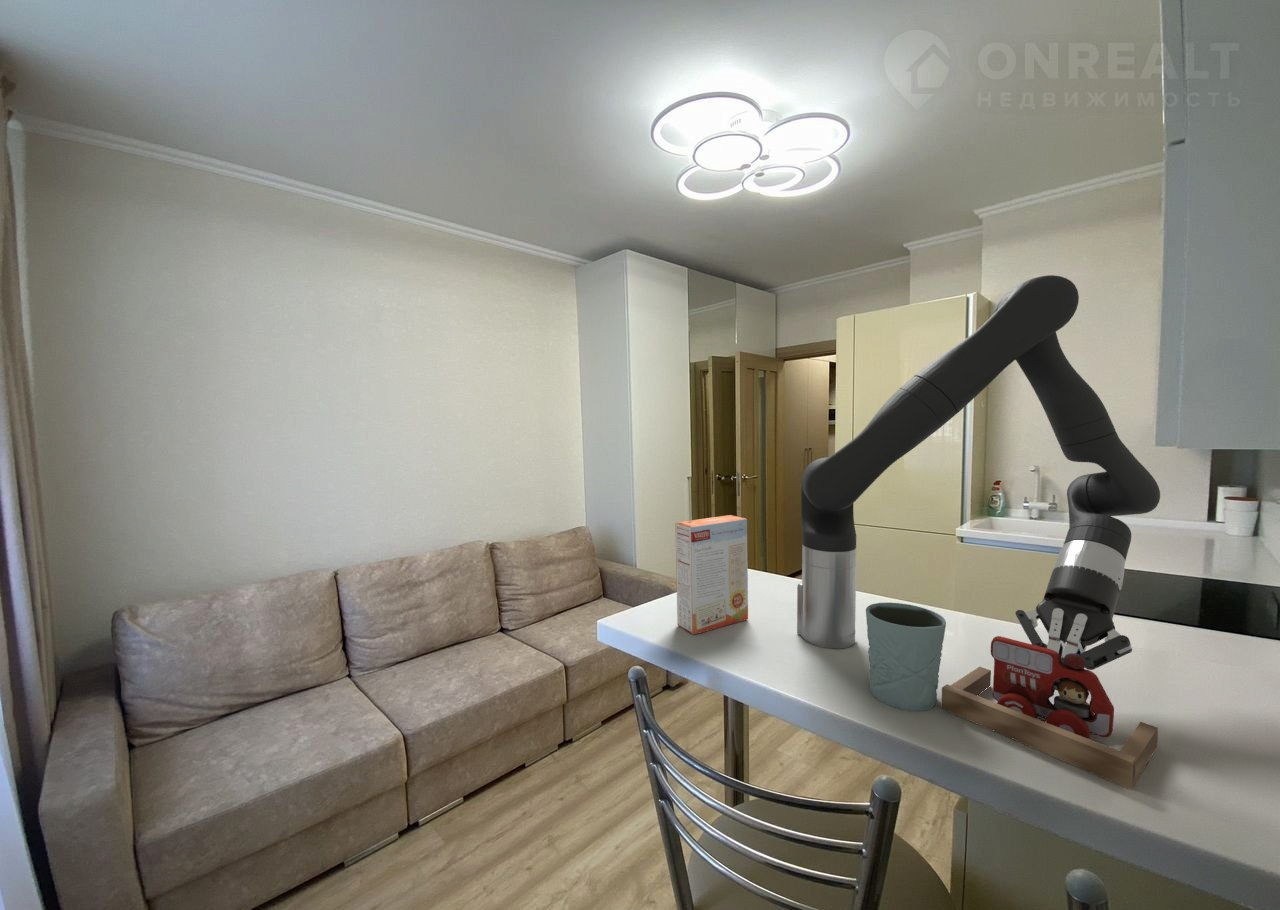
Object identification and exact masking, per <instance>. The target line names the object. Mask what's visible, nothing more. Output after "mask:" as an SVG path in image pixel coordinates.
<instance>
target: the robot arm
mask: <svg viewBox="0 0 1280 910" xmlns="http://www.w3.org/2000/svg"><path fill="white" fill-rule="evenodd" d="M1079 300H1080V296H1079V290H1078V288H1077V286H1076V285H1075V284H1074V282H1073V281H1072V280H1070V279H1068V278H1066V277H1064V276H1060V275H1051V274H1050V275H1047V274H1046V275H1042V276H1038V277H1034V278H1030V279H1027V280H1026V281H1024V282H1021V283H1020V284H1019V285H1017V286H1016V287H1014V288H1013V289H1011V291H1009V292H1007V293H1006V294H1005V295H1003V296H1002V297H1001V298H1000V299H999V300H998V301H997V302H996V304H995V306H994V307H993V310H992V314H991V316H990V317H989V318H988V319H987V320H986V321H985V322H984V323H982V325H981V326H979V328H978V329H976V330H975V331H974V332H973V333H972V334H970V335H969V336H968V337H966V338H964V340H962V341H960V342H959V343H958V344H956V345H955V346H953V347H952V348H950V349H949V350H947V351H945V352H944V353H943V354H941V355H940V356H938V357H937V358H935V359H934V360H933V361H932V362H930V363H929V364H927V365H926V366H925V367H923V368H922V369H921V370H920V371H918V372H917V373H915V375H913V376H912V377H911V378H909V380H908V381H907V382H905V383H904V384H903V385H902V386H901V387H899V388H898V389H897V390H896V391H895V392H894V393H893V394H892V395H891V396H890V397H889V398H888V399H887V400H886V402H885V403H884V404H883V405H882V406H881V407H880V408H879V410H878V411H877V412H876V413H875V415H874V416H873V417H872V418H871V420H869V423H868V424H867V425H866V426H865V427H864V428H863V430H862V431H860V433H858V435H856V436H855V437H854V438H853V439H852V440H850V441H849V442H847V444H845V445H844V446H842V447H841V448H840V449H838V450H837V451H836V452H834V453H832V454H831V455H830V456H829V457H828V456H827V457H821V458H818V459H815V460H813V461H812V462H810V463H809V464H808V465H807V466H806V468H805V469H804V471H803V473H802V476H801V484H800V485H801V486H800V487H801V488H800V490H801V491H800V492H801V493H800V494H801V495H800V497H801V498H800V502H801V504H800V505H801V506H800V507H801V508H800V509H801V510H800V511H801V512H800V513H801V514H800V516H801V517H800V518H801V520H800V521H801V522H800V523H801V536H802V537H801V538H802V539H801V540H802V547H801V549H802V550H801V551H802V553H801V554H802V555H801V557H802V559H801V561H802V562H801V563H802V565H801V568H802V569H801V570H802V571H801V582H799V583H797V589H796V591H797V595H796V596H797V599H796V604H797V605H796V607H797V608H796V609H797V611H796V616H797V617H796V619H797V621H796V623H797V624H796V633H797V635H798V634H799V635H800V636H801V637H802V638H803V639H804V640H805V641H806V642H809V644H812V645H814V646H819V647H822V648H830V649H844V648H848V647H852V646H853V645H854V644H855V642H856V610H857V609H856V608H857V607H856V606H857V605H856V601H857V599H856V598H857V597H856V595H857V594H856V593H857V589H856V588H857V533H856V531H857V530H856V526H855V518H854V503H855V502H856V501H857V500H858V499H859V498H860V497H861V496H862V495H863V494H864V493H865V491H867V489H868V488H869V487H871V485H873V483H874V482H875V481H876V480H877V479H878V478H879V477H880V476H881V475H882V474H883V473H884V472H885V471H886V470H888V468H889V467H891V466H892V465H893V464H894V463H895V462H897V461H898V460H900V459H901V458H902V457H903V456H905V455H906V454H908V453H910V451H912V450H913V449H914V448H916V447H918V445H919V444H922V442H924V441H925V440H926V439H928V438H929V437H930V436H932V435H933V434H934V433H935V432H937V431H938V430H939V429H940V428H942V427H943V426H944V425H945V424H946V423H948V422H949V421H950V420H951V419H952V418H954V417H955V416H956V415H957V414H959V412H961V411H962V410H963V409H964V408H965V407H966V406H968V405H969V403H970V402H971V401H973V400H974V399H976V397H977V396H978V395H979V394H981V392H983V391H984V390H985V389H986V388H987V387H988V386H989V385H990V384H991V383H993V381H994V380H995V379H996V378H997V377H998V376H999V374H1001V373H1002V372H1003V371H1004V370H1005V369H1006V368H1007V367H1008V366H1010V365H1011V364H1012V363H1014V361H1015V362H1016V363H1017V364H1018V366H1019V368H1020V369H1021V371H1022V373H1023V374H1024V376H1025V377H1026V379H1027V380H1028V382H1029V383H1030V386H1031V387H1032V389H1033V391H1034V393H1035V395H1036V397H1037V398H1038V400H1039V403H1040V404H1041V407H1042V409H1043V411H1044V412H1045V416H1046V417H1047V420H1048V421H1049V424H1050V426H1051V428H1052V431H1053V433H1054V435H1055V438H1056V440H1057V442H1058V444H1059V446H1060V449H1061V451H1062V454H1063V456H1064V457H1065V459H1067V460H1068V461H1070V462H1075V463H1091V464H1096V465H1097V466H1099V467H1100V468H1102V469H1103V470H1104V471H1102V472H1101V471H1100V472H1095V473H1094V472H1093V473H1089V474H1088V473H1087V474H1083V475H1080V476H1077V477H1076V478H1075V479H1073V480H1072V481H1071V483H1070V484H1069V485H1068V487H1067V489H1066V498H1067V505H1068V520H1069V521H1068V522H1069V523H1068V524H1069V526H1068V527H1069V528H1068V531H1067V533H1066V537H1065V539H1064V542H1063V545H1062V548H1061V550H1060V552H1059V553H1058V555H1057V558H1056V560H1055V563H1054V565H1053V569H1052V572H1051V575H1050V578H1049V581H1048V584H1047V586H1046V590H1045V593H1044V596H1043V599H1042V601H1040V602H1039V603H1038V604H1037V605H1036V606H1035V609H1033V610H1029V611H1026V612H1025V611H1024V610H1023V609H1017V610H1016V611H1015V616H1016V618H1017V620H1018V623H1019V624H1020V626H1021V628H1022V629H1023V631H1024V633H1025V635H1026V636H1027V638H1028V640H1029V642H1030V644H1032V645H1036V646H1040V647H1044V648H1048V649H1051V650H1054V651H1056V652H1057V653H1058V654H1059V655H1060V657H1061V661H1062V662H1063V663H1064V657H1065V655H1067V654H1069V653H1074V654H1078V655H1079V656H1081V657H1082V658H1083V659H1084V661H1085V668H1084V669H1086V670H1090V671H1092V670H1095V669H1096V670H1097V668H1100V667H1101V666H1105V665H1106V664H1108V663H1111V662H1113V661H1115V660H1117V659H1119V658H1122V657H1124V656H1126V655H1128V654H1130V653H1132V652H1133V647H1132V643H1131V641H1130V639H1129V637H1128V636H1126V635H1122V634H1120V633H1119V632H1118V631H1117V630H1116V627H1115V624H1114V623H1115V622H1114V621H1113V619H1114V615H1115V611H1116V608H1117V604H1118V601H1119V597H1120V593H1121V590H1122V589H1123V585H1124V577H1125V565H1126V561H1127V556H1128V553H1129V548H1130V545H1131V542H1132V531H1131V529H1130V527H1129V526H1128V525H1127V524H1126V523H1125V522H1124V521H1122V520H1120V519H1118V518H1116V517H1117V516H1118V517H1119V516H1129V515H1130V516H1132V515H1134V516H1135V515H1143V514H1149V513H1150V512H1152V511H1153V510H1155V509H1156V508H1157V506H1158V505H1159V503H1160V500H1161V490H1160V487H1159V485H1158V483H1157V481H1156V479H1155V478H1154V476H1153V475H1152V474H1151V473H1150V471H1149V470H1148V469H1147V468H1146V467H1145V466H1144V465H1143V464H1142V463H1141V462H1140V461H1139V460H1138V459H1137V458H1136V457H1135V455H1134V454H1133V453H1132V452H1131V451H1130V450H1129V448H1127V446H1126V445H1125V444H1124V443H1123V441H1122V440H1121V439H1120V437H1119V435H1118V433H1117V431H1116V428H1115V426H1114V424H1113V421H1112V419H1111V417H1110V415H1109V413H1108V411H1107V409H1106V407H1105V405H1104V403H1103V402H1102V400H1101V398H1100V397H1099V395H1098V394H1097V392H1096V391H1095V390H1094V389H1093V388H1092V387H1091V385H1089V383H1088V382H1086V381H1085V379H1084V378H1083V377H1082V376H1081V375H1080V374H1079V373H1078V372H1077V371H1076V370H1075V368H1074V367H1073V366H1072V364H1071V362H1070V361H1069V360H1068V358H1067V357H1066V355H1065V354H1064V352H1063V350H1062V347H1061V344H1060V341H1059V338H1058V335H1057V331H1059V330H1061V329H1062V328H1064V327H1065V326H1066V325H1067V324H1068V323H1069V322H1070V321H1071V319H1072V318H1073V317H1074V315H1075V313H1076V311H1077V309H1078V306H1079V302H1080V301H1079ZM1039 620H1040V622H1041V623H1042V625H1043V627H1044V628H1045V630H1046V632H1047V634H1048V640H1047V641H1048V642H1047V644H1046V643H1045V642H1043V640H1042V638H1041V636H1040V635H1039V634H1038V631H1037V630H1036V628H1037V627H1038V625H1039V623H1038V621H1039ZM1102 640H1104V642H1102V643H1100V644H1097V645H1096V646H1094V647H1092V648H1089V649H1087V647H1089V646H1092V645H1093V644H1096V643H1098V642H1100V641H1102ZM1086 649H1087V650H1086ZM1061 679H1064V678H1061ZM1061 679H1058V680H1057V681H1056V682H1055V683H1054V689H1055V691H1057V692H1058V690H1057V685H1058V683H1059V681H1060V680H1061Z"/></svg>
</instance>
